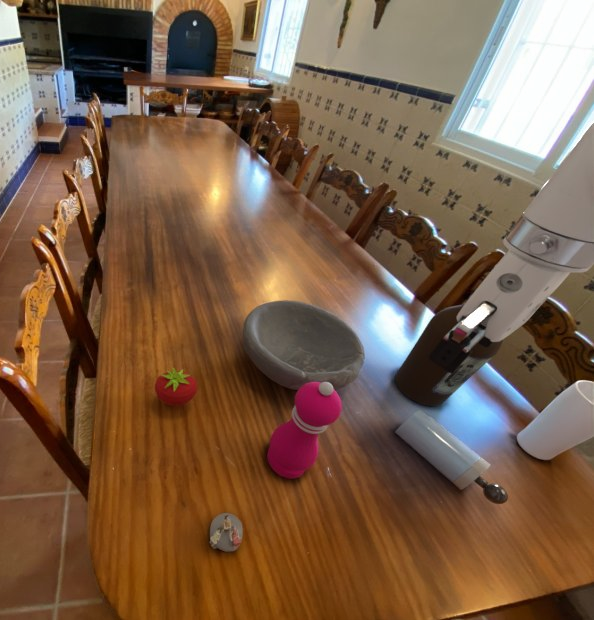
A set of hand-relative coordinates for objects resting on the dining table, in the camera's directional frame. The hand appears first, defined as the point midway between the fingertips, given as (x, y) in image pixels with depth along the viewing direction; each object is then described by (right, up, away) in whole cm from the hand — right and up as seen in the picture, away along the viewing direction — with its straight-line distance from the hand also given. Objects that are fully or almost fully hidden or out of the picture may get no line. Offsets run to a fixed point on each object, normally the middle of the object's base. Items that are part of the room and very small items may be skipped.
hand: (458, 352), depth 49 cm
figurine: (-32, -26, +1) cm, 41 cm away
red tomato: (-39, -12, +17) cm, 44 cm away
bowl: (-14, -6, +27) cm, 31 cm away
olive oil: (+12, -10, +25) cm, 29 cm away
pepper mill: (-20, -19, +11) cm, 30 cm away
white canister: (+3, -14, +14) cm, 20 cm away
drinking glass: (+26, -19, +16) cm, 36 cm away
